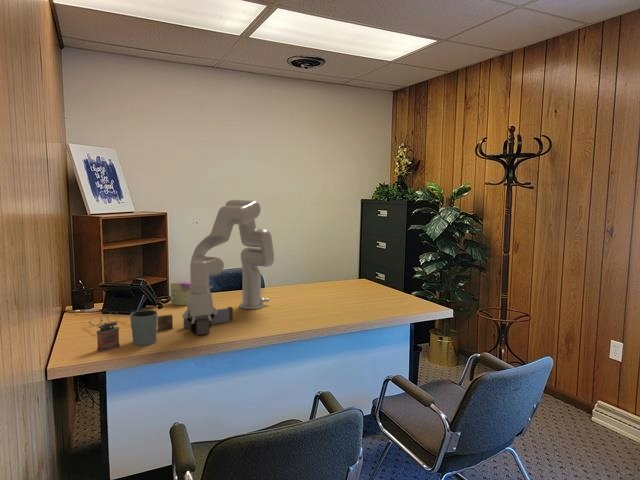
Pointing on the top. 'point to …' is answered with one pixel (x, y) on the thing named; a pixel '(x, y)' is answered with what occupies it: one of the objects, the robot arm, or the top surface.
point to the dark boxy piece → (200, 325)
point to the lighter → (108, 337)
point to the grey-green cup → (144, 327)
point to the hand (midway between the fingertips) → (200, 330)
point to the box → (180, 292)
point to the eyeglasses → (102, 320)
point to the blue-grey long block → (218, 318)
